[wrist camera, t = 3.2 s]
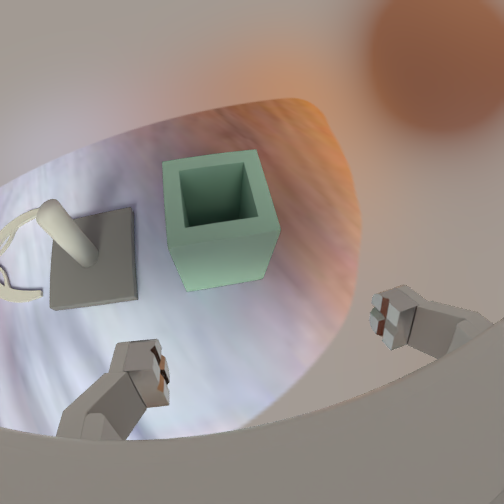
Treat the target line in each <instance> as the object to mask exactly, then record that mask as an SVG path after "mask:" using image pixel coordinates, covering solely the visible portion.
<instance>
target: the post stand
mask: <svg viewBox="0 0 504 504" xmlns="http://www.w3.org/2000/svg"><path fill="white" fill-rule="evenodd" d="M36 221H37V223H38V224H39V225H40V226H41V227H42V228H43V229H44V230H45V231H46V232H47V233H48V234H49V235H50V236H51V237H52V238H53V246H52V257H51V273H50V308H51V309H53V310H55V311H57V310H65V309H73V308H81V307H89V306H96V305H103V304H111V303H118V302H125V301H131V300H138V295H137V282H136V268H135V248H134V213H133V211H132V208H131V207H128V208H123V209H118V210H113V211H109V212H104V213H99V214H95V215H90V216H86V217H81V218H77V219H72V218H71V217H70V216H69V214H68V213H67V212H66V211H65V209H64V208H63V207H62V205H61V204H60V203H59V202H58V201H57V200H56V199H50V200H48V201H46V202H44V203H43V204H42V205H41V206H40V208H39V210H38V212H37V215H36Z"/></svg>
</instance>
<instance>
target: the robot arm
mask: <svg viewBox="0 0 504 504" xmlns="http://www.w3.org/2000/svg"><path fill="white" fill-rule="evenodd" d="M372 305H373V306H374V308H373V309H372V311H371V312H370V325H371V328H372V329H373V331H374V332H375V333H376V334H377V335H379V336H382V341H383V342H384V343H385V344H386V346H387V347H388V348H389V349H390V350H394V349H396V348H399V347H402V346H404V345H407V344H408V346H411V347H413V348H415V349H417V350H419V351H422V352H424V353H426V354H428V355H430V356H433V357H435V358H437V360H435V361H434V362H432V363H430V364H428V365H426V366H424V367H422V368H420V369H418V370H416V371H414V372H412V373H410V374H408V375H406V376H404V377H402V378H399V379H397V380H395V381H393V382H390V383H388V384H386V385H384V386H381V387H379V388H377V389H374V390H372V391H369V392H367V393H364V394H362V395H359V396H356V397H354V398H351V399H348V400H345V401H343V402H340V403H337V404H334V405H331V406H328V407H325V408H322V409H319V410H315V411H312V412H309V413H305V414H302V415H298V416H295V417H291V418H287V419H284V420H280V421H275V422H272V423H267V424H263V425H258V426H253V427H249V428H244V429H238V430H233V431H227V432H221V433H214V434H207V435H200V436H191V437H182V438H170V439H155V440H126V439H127V437H128V436H129V434H130V433H131V431H132V430H133V428H134V427H135V425H136V424H137V423H138V421H139V420H140V418H141V417H142V415H143V414H144V412H145V411H146V408H150V407H159V406H167V405H169V389H168V387H167V385H168V383H169V382H170V376H169V368H168V365H167V361H166V358H165V357H164V356H163V355H161V350H162V347H161V345H160V342H159V340H158V339H150V340H140V341H131V342H121V343H118V344H116V347H115V350H114V354H113V357H112V361H111V365H110V369H109V373H105V374H103V375H102V376H101V377H100V378H99V379H98V380H97V381H96V382H95V383H94V384H92V385H91V386H90V387H89V388H88V389H87V390H86V391H85V392H84V393H83V394H81V395H80V396H79V397H78V398H77V399H76V400H75V401H74V402H73V403H72V404H71V405H69V406H68V407H67V408H66V409H65V410H64V411H63V414H62V417H61V420H60V424H59V427H58V431H57V434H56V437H54V436H47V435H40V434H33V433H27V432H22V431H17V430H12V429H7V428H3V427H0V504H504V318H502V319H501V320H500V321H498V322H497V323H495V324H493V323H491V322H490V321H489V320H488V319H486V318H485V317H484V316H482V315H481V314H480V313H478V312H475V311H471V310H467V309H463V308H459V307H455V306H451V305H447V304H442V303H438V302H434V301H427V300H426V299H424V298H423V297H422V296H421V295H419V294H418V293H416V292H415V291H414V290H412V289H411V288H410V287H408V286H407V285H401V286H398V287H395V288H393V289H390V290H387V291H383V292H380V293H376V294H374V295H373V297H372Z"/></svg>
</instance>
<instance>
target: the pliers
mask: <svg viewBox="0 0 504 504" xmlns="http://www.w3.org/2000/svg"><path fill="white" fill-rule="evenodd" d="M38 210H39V208H38V209H34V210H31V211H28V212H26V213H24V214H22V215H20V216H19V217H17V218H15V219H14V220H13V221H11V222H10V223H9V224H7V225H6V226H5V227H4V228H3V229H2V230H1V231H0V246H1V245H2V244H3V242H4V241H5V240H6V239H7V237H8V236H9V235H10V237H9V239H8V241H7V243H6V244H5V246H4V247H3V248H2V250H1V251H0V256H1V255H2V254H3V253H4V252H5V251H6V249H7V248H8V247H9V245H10V244H11V242H12V240H13V238H14V236H15V233H16V231H17V230H18V228H19V227H21V226H22V225H24V224H26V223H27V222H29V221H31V220H33V219H35V218H36V215H37V212H38ZM0 271H1V272H2V274H3V277H4V282H5V286H4V285H2V284H1V283H0V298H1V299H4V300H6V301H10V302H16V303H22V302H29V301H32V300H35V299H38V298H41V297H43V291H41V290H37V291H22V290H15V289H12V288H11V286H10V283H9V279H8V276H7V274H6V272H5V271H4V270H3V269H2V268H1V267H0Z"/></svg>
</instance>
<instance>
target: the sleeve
mask: <svg viewBox="0 0 504 504" xmlns="http://www.w3.org/2000/svg"><path fill="white" fill-rule="evenodd" d="M162 170H163V191H164V207H165V221H166V233H167V244H168V249H169V252H170V254H171V257H172V259H173V261H174V264H175V266H176V268H177V271H178V273H179V275H180V277H181V280H182V282H183V284H184V286H185V289H186V291H187V292H190V291H196V290H202V289H208V288H214V287H220V286H225V285H231V284H237V283H243V282H248V281H254V280H259V279H263V277H264V275H265V272H266V269H267V267H268V264H269V261H270V259H271V256H272V253H273V250H274V248H275V245H276V242H277V240H278V237H279V234H280V231H281V228H280V225H279V222H278V218H277V215H276V212H275V208H274V205H273V202H272V198H271V195H270V192H269V189H268V185H267V182H266V179H265V176H264V172H263V169H262V166H261V163H260V160H259V157H258V154H257V150H245V151H235V152H226V153H218V154H210V155H203V156H196V157H189V158H182V159H176V160H170V161H164V162H162Z"/></svg>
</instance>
